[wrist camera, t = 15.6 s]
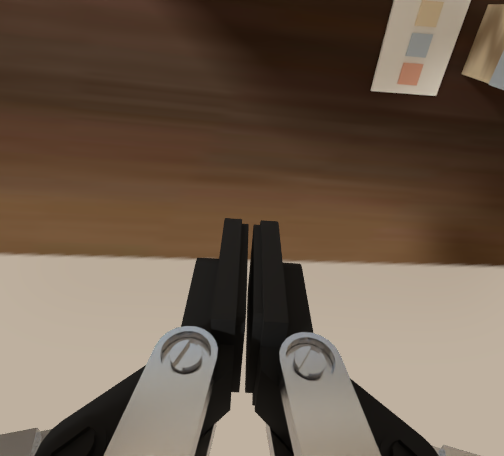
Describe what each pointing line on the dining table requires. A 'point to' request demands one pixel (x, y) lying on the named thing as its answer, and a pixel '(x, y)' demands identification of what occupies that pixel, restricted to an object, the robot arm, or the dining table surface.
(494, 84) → the slate blue brick
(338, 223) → the dining table surface
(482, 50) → the maple brick
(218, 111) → the dining table surface
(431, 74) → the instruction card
